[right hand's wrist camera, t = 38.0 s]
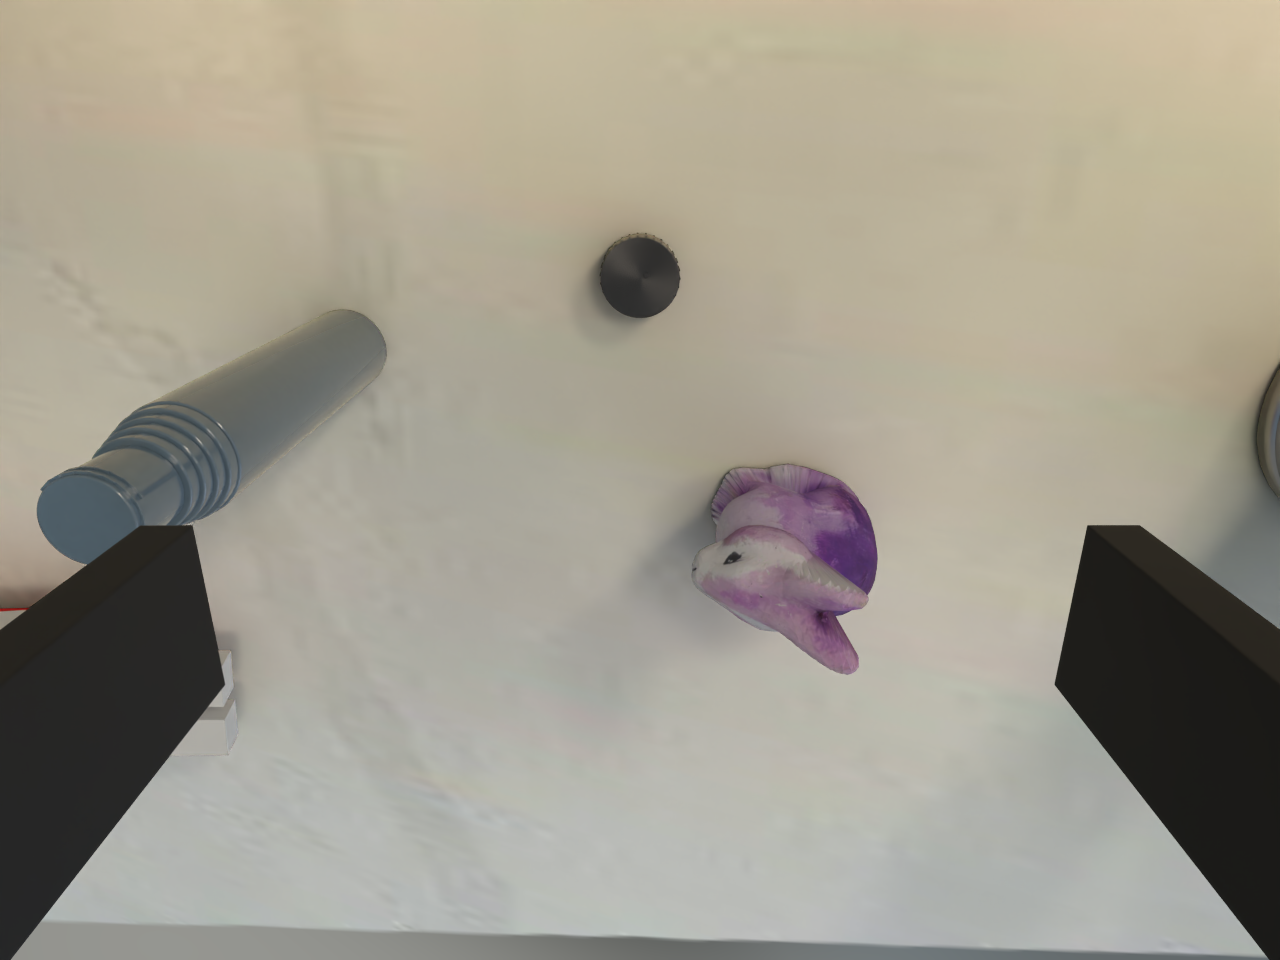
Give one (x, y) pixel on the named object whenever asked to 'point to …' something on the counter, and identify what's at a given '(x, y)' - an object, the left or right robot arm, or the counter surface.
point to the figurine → (791, 557)
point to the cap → (640, 275)
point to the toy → (215, 723)
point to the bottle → (210, 436)
